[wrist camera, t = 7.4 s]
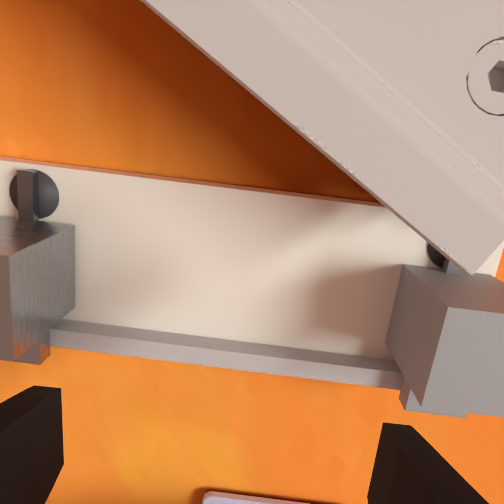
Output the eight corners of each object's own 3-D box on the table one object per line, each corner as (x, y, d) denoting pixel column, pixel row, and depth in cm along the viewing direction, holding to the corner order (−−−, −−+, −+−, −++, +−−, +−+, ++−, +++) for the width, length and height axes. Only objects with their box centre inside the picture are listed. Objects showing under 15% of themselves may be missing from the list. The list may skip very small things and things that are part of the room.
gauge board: (494, 216, 17) (597, 253, 12) (447, 381, 20) (516, 474, 14) (-21, 153, 17) (-150, 161, 12) (-10, 324, 20) (-115, 395, 14)
